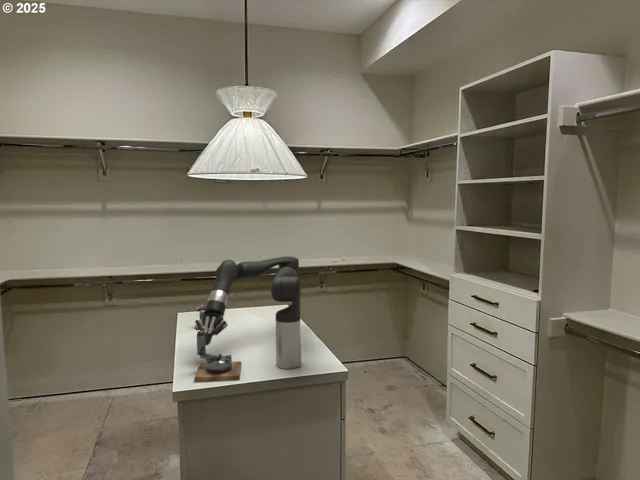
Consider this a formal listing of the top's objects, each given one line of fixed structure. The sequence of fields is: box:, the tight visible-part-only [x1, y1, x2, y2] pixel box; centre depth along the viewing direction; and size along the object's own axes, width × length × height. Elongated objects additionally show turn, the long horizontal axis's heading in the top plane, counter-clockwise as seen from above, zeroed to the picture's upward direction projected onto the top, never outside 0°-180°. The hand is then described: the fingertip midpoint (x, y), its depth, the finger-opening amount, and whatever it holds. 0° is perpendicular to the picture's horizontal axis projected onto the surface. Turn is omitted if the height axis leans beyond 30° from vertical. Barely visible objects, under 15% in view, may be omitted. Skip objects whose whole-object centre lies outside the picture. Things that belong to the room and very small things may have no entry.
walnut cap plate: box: [194, 360, 242, 383], centre depth 160 cm, size 15×14×2 cm
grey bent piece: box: [196, 330, 233, 373], centre depth 160 cm, size 14×9×13 cm, turn 67°
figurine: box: [194, 304, 206, 331], centre depth 217 cm, size 8×8×12 cm
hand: (205, 344), depth 166 cm, fingers closed
